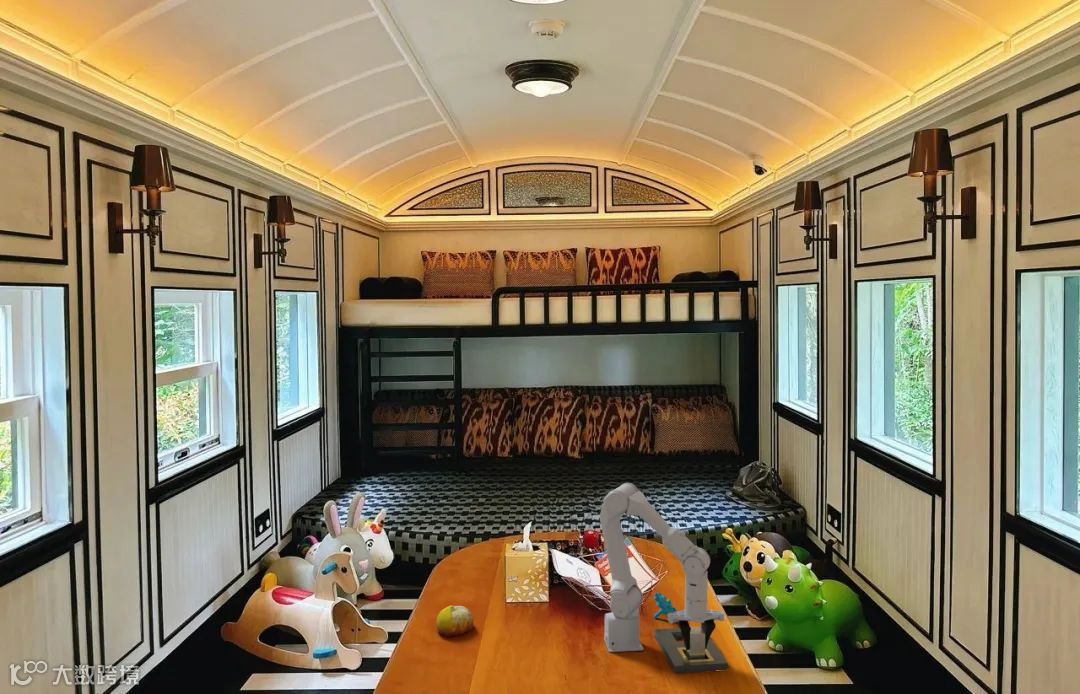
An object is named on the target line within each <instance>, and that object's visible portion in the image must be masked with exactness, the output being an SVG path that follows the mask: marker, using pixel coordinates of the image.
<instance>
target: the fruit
mask: <svg viewBox="0 0 1080 694" xmlns="http://www.w3.org/2000/svg"><path fill="white" fill-rule="evenodd" d="M435 625H436V629H437V632H438V633H439V634H441V635H442V636H445V637H454V636H461V635H463V634H465V633H467V632H468V633H469V632H470V631H471V630H472V628H473V626H474V616H473V613H472V612H471V610H470V609H469V608H467V607H465V606H462V605H457V606H455V605H452V604H451V605H448V606H447V607H445V608H443V609H442V610H440V611H439V613H438V616H437V618H436V623H435Z"/></svg>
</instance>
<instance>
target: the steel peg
mask: <svg viewBox="0 0 1080 694" xmlns="http://www.w3.org/2000/svg"><path fill="white" fill-rule="evenodd" d="M690 628H691V631H690V648H689V650H686V648H685V656H686V657H687V659H688V660H701V659H705V632H704V631H703V630H702V628H701V626H690Z"/></svg>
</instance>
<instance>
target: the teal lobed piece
mask: <svg viewBox="0 0 1080 694" xmlns="http://www.w3.org/2000/svg"><path fill="white" fill-rule="evenodd" d="M653 596H654V597H653V600H654V601H655V602H656V606H657V608H659V610H658V611H657V612H656V613H655V614H654V615H653V618H654V619H655V620H656V619H657V618H659V617H660V616H661V615H662V614H663V615H665V614H666V618H667V619H668V613H674V612H677V608H676V607H674V606H673V604H672V600H671V598H668V599H667V596H666V595H665V594H663V595H662V593H661V592H659V591H658V592H655V593H654V594H653ZM675 623H676V622H674V623H673V624H675Z"/></svg>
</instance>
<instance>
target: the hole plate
mask: <svg viewBox="0 0 1080 694" xmlns="http://www.w3.org/2000/svg"><path fill="white" fill-rule="evenodd" d="M653 631H654V634H653V635H654V636H653V637H654V638H655V640H656V642H657V643H658V645H659V647H660V649H661V651H662V653H663V655H664V656H665V658H666V661H667V662H668V663H669V666H670V668H671V669H672V671H673V673H674V674H675V675H676V674H690V673H707V672H706V671H714V672H717V671H716V670H727V669H728V670H729V662H728V661H727V659H726V658H725V656H724V655H723V653H722V652H721V651H720V650H719V648H718V646H717V644H715V643H714V640H712V638H711V637H710V638H709V641H708V644H707V649H705V659H701V660H688V659H687V657H686V656H685V645H684V641H677V640H679V639H681V640H682V639H683V636H682V632H681V630H680V627H675V628H674V627H673V628H671V627H670V628H655V629H653ZM683 640H684V639H683Z"/></svg>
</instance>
